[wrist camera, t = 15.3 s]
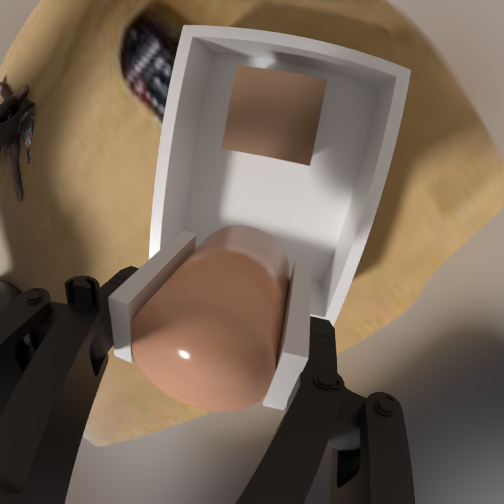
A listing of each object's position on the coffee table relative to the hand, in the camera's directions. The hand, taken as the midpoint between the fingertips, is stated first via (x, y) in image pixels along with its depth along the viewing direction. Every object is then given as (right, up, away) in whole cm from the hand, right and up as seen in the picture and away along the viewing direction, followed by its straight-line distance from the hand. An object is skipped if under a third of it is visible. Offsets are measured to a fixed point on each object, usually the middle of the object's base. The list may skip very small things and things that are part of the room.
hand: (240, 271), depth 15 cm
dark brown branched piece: (-27, +15, +10) cm, 32 cm away
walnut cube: (+3, +10, +5) cm, 12 cm away
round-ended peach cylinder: (0, 0, +1) cm, 1 cm away
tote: (+2, +7, +7) cm, 10 cm away
